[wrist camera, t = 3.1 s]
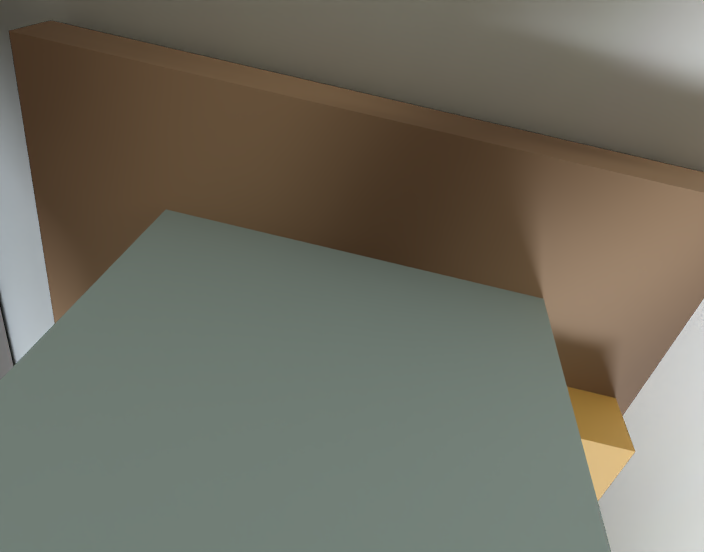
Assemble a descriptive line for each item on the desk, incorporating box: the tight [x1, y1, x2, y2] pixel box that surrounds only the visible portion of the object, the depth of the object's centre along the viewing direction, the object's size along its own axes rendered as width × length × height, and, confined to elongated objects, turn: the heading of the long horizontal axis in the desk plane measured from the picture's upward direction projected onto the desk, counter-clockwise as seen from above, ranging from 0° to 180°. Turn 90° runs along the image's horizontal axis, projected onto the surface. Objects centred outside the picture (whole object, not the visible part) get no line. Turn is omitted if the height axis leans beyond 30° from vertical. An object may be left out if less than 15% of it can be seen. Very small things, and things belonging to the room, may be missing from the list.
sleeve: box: [0, 209, 635, 552], centre depth 8 cm, size 8×6×6 cm
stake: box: [9, 20, 704, 416], centre depth 8 cm, size 11×11×8 cm
